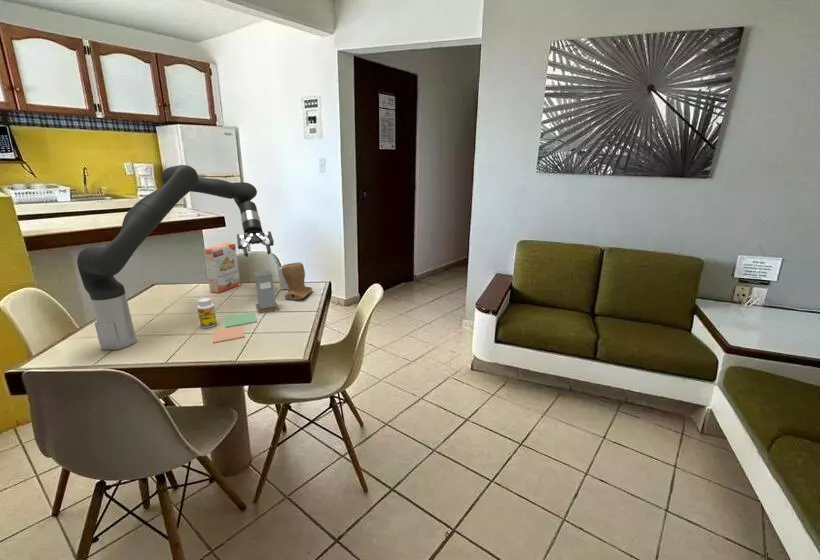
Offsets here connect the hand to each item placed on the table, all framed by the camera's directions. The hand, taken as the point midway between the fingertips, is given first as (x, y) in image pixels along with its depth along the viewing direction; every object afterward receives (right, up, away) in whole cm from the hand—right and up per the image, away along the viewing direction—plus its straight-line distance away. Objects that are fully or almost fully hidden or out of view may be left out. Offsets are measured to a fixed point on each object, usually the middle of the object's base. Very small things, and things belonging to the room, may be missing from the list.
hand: (258, 254), depth 167 cm
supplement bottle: (-12, -28, -18) cm, 35 cm away
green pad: (-2, -26, -13) cm, 29 cm away
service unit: (+4, -22, -1) cm, 23 cm away
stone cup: (+12, -18, +13) cm, 26 cm away
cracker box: (-25, -15, +25) cm, 39 cm away
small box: (+5, -14, +25) cm, 30 cm away
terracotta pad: (-1, -30, -26) cm, 40 cm away
